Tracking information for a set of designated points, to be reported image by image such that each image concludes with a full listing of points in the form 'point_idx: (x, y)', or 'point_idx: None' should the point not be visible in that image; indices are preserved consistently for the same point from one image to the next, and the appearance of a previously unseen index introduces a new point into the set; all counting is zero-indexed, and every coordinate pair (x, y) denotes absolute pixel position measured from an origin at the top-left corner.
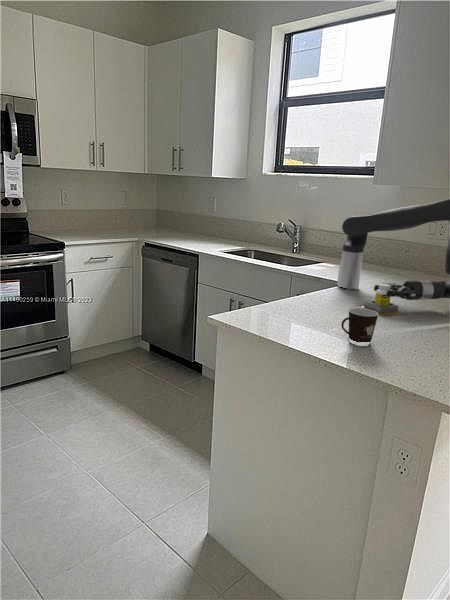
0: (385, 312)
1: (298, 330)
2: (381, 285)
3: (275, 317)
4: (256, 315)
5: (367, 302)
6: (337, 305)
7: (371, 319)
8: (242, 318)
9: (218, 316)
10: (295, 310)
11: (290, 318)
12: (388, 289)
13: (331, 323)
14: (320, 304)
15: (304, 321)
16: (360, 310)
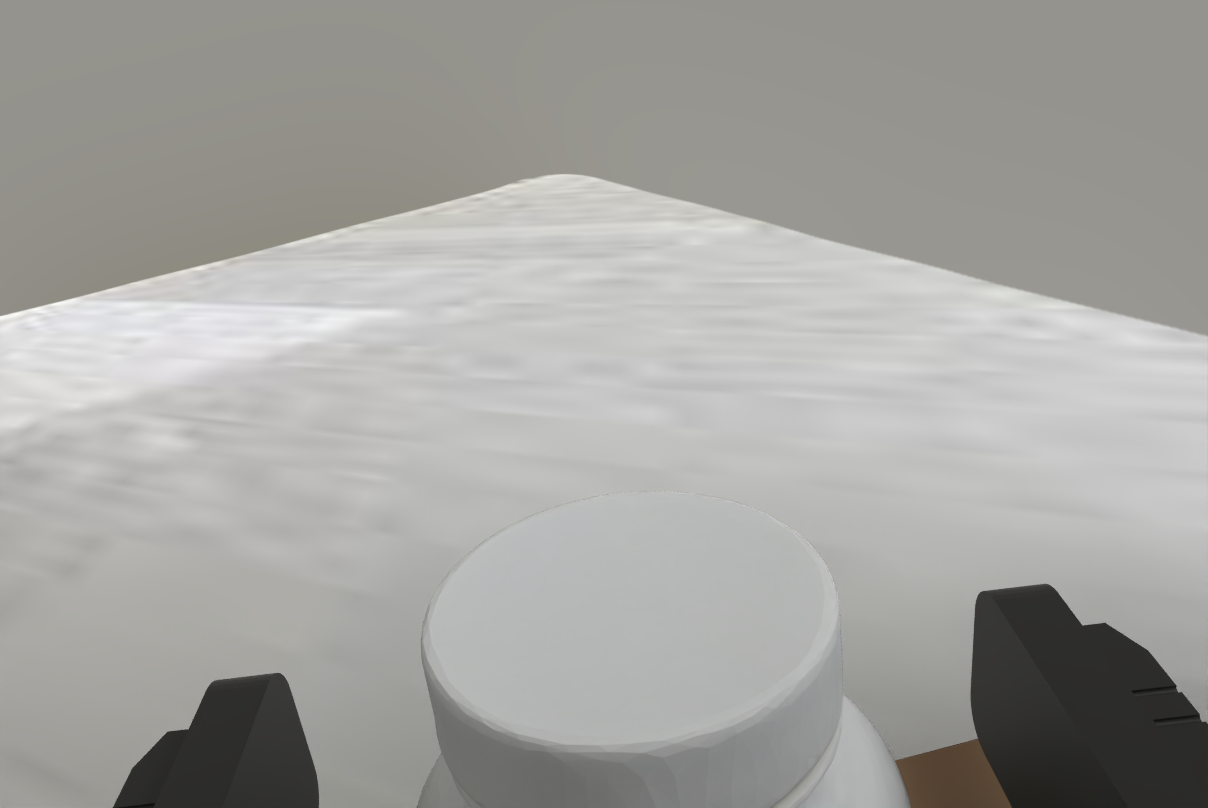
0: None
1: (250, 325)
2: (551, 513)
3: (533, 273)
4: (584, 233)
5: None
6: None
7: None
8: (534, 213)
9: (577, 178)
10: (708, 329)
11: (498, 309)
12: (454, 779)
13: (303, 447)
14: (1002, 459)
15: (412, 348)
16: None
